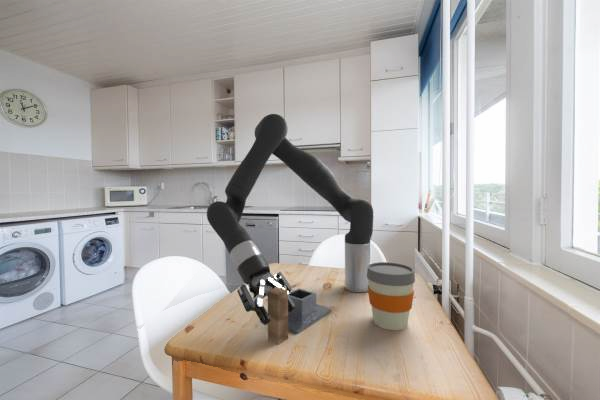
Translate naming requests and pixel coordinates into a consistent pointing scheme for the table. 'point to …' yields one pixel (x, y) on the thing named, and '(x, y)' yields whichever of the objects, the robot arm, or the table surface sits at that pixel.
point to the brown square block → (278, 315)
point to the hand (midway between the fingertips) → (280, 316)
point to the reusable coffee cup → (390, 294)
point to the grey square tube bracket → (305, 310)
